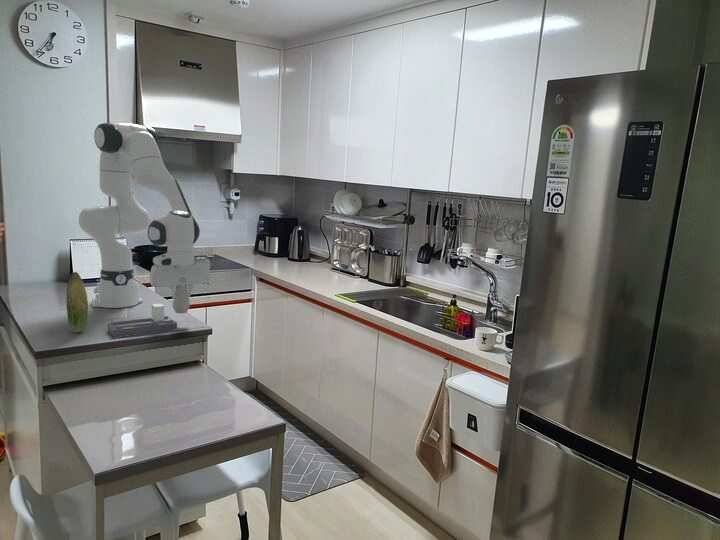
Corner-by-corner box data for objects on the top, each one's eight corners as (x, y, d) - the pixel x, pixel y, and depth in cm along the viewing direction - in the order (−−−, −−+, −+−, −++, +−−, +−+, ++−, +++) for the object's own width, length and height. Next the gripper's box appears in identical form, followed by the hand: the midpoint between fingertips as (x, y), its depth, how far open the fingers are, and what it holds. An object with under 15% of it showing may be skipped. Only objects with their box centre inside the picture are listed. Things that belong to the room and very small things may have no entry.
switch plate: (108, 330, 178) (107, 321, 178) (169, 323, 190) (168, 314, 190) (114, 337, 171) (113, 327, 171) (177, 329, 183) (176, 320, 183)
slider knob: (151, 319, 184) (151, 304, 183) (160, 318, 186) (160, 303, 185) (155, 322, 181) (154, 306, 180) (164, 321, 183) (164, 306, 182)
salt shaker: (184, 314, 184) (184, 277, 182) (169, 313, 185) (168, 276, 183) (193, 310, 190) (192, 274, 188) (178, 309, 191) (177, 273, 189)
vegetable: (92, 330, 178) (89, 271, 175) (84, 335, 172) (82, 274, 169) (72, 330, 177) (70, 270, 174) (64, 335, 171) (61, 274, 168)
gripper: (206, 255, 193) (206, 293, 195) (148, 258, 181) (148, 298, 183) (213, 258, 188) (213, 296, 190) (153, 261, 176) (154, 302, 178)
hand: (181, 297), depth 187 cm, fingers closed on salt shaker, 3 cm apart
